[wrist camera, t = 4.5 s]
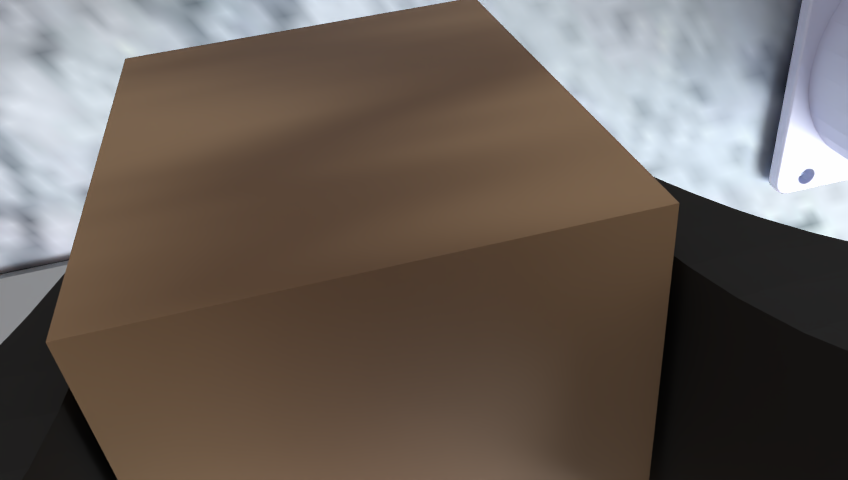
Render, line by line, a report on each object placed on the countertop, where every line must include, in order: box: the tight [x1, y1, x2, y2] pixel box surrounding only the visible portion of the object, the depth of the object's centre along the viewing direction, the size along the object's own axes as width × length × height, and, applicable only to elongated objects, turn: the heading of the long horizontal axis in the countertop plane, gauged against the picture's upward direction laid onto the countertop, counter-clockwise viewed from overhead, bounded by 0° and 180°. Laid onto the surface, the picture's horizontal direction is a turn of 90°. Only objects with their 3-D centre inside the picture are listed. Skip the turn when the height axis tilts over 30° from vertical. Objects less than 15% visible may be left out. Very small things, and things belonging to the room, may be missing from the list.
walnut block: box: [46, 0, 679, 480], centre depth 10 cm, size 5×5×6 cm
